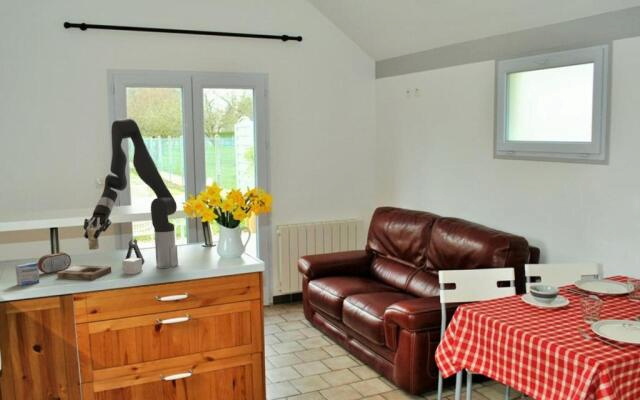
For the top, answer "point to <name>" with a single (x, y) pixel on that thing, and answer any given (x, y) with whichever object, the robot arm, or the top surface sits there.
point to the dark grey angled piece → (136, 249)
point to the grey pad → (75, 268)
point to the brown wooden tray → (85, 272)
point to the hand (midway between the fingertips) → (90, 237)
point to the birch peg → (92, 238)
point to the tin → (54, 262)
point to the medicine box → (27, 273)
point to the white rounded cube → (132, 265)
